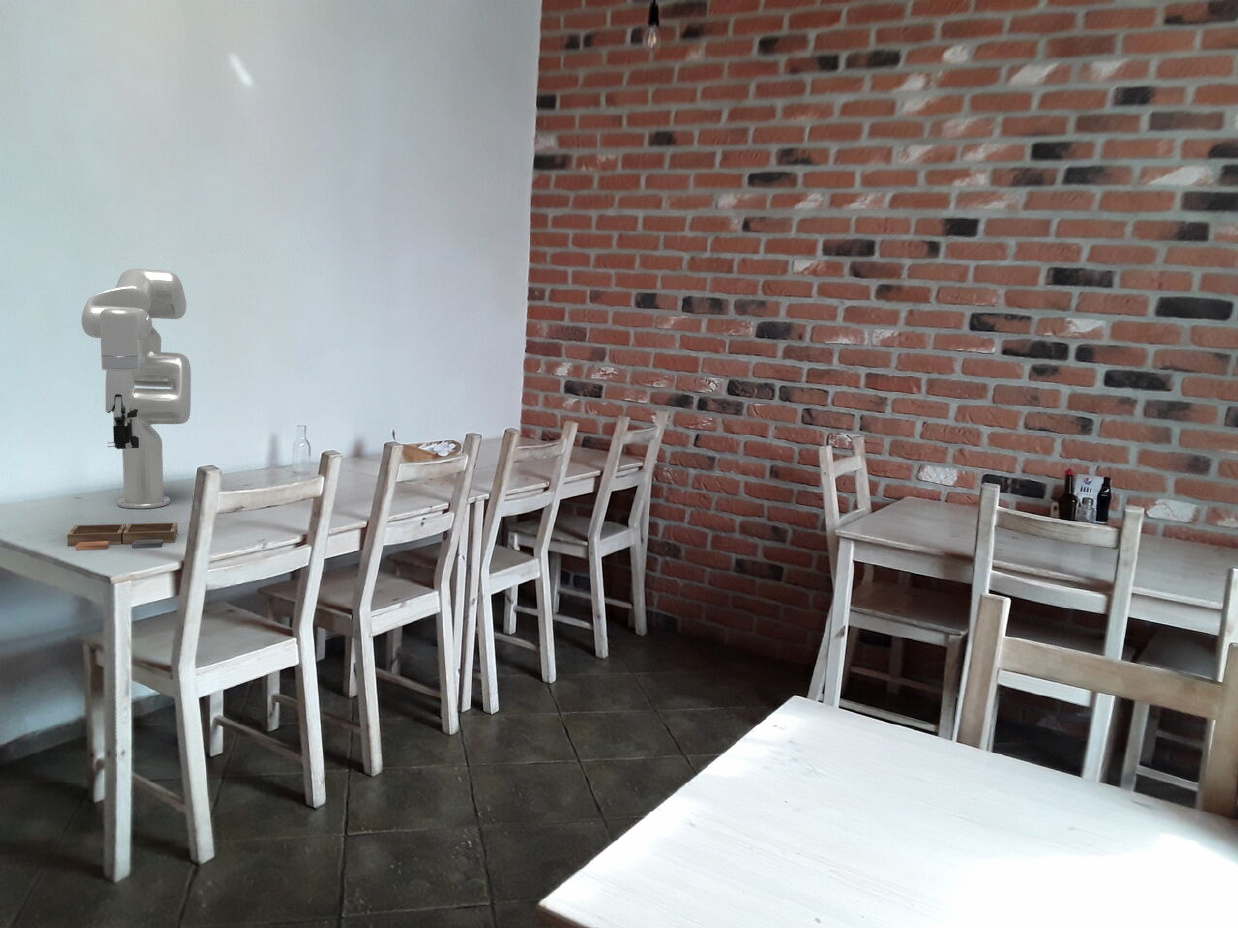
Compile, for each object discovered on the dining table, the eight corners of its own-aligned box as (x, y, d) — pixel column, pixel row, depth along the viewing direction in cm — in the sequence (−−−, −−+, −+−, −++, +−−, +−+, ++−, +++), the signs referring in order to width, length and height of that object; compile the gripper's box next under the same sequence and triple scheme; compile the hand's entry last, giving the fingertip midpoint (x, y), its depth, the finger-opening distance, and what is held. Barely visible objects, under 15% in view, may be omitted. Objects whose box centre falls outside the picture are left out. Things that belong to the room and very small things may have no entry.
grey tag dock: (128, 534, 210) (127, 523, 210) (177, 532, 214) (177, 522, 213) (120, 548, 199) (120, 537, 198) (172, 546, 203) (172, 535, 202)
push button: (111, 451, 201) (109, 407, 199) (104, 447, 205) (102, 404, 203) (142, 449, 205) (141, 406, 204) (135, 445, 209) (134, 403, 207)
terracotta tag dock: (75, 535, 206) (74, 525, 205) (126, 534, 210) (126, 523, 209) (64, 550, 195) (63, 539, 194) (118, 548, 199) (118, 537, 198)
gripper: (107, 359, 208) (110, 435, 211) (95, 366, 192) (98, 447, 196) (143, 360, 210) (145, 435, 214) (133, 367, 195) (136, 447, 199)
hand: (123, 440), depth 205 cm, fingers closed on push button, 3 cm apart
